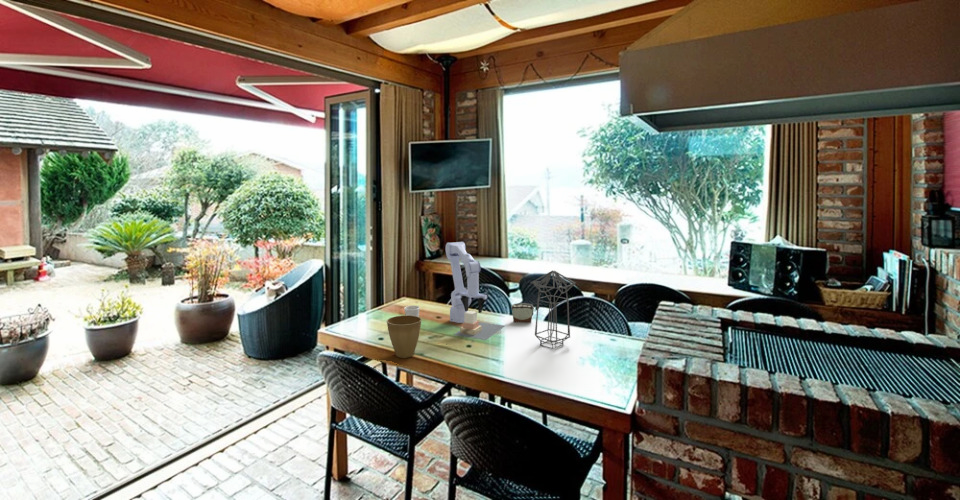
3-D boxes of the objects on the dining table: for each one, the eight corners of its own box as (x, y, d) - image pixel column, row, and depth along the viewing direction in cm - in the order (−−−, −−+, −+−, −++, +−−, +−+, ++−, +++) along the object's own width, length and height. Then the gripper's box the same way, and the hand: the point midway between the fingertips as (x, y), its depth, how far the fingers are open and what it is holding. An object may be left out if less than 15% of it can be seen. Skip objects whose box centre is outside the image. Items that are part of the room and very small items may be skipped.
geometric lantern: (549, 337, 215) (550, 266, 210) (576, 345, 203) (578, 270, 199) (527, 345, 205) (528, 270, 200) (554, 354, 193) (555, 275, 188)
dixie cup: (421, 323, 239) (421, 305, 238) (418, 328, 231) (417, 309, 229) (406, 323, 240) (406, 305, 238) (402, 328, 232) (402, 309, 230)
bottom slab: (460, 332, 220) (460, 328, 220) (467, 328, 228) (467, 323, 227) (474, 335, 217) (474, 330, 217) (481, 330, 224) (481, 325, 224)
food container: (533, 320, 242) (533, 303, 241) (533, 324, 236) (534, 305, 235) (511, 320, 244) (511, 302, 242) (510, 323, 238) (510, 305, 236)
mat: (452, 336, 218) (452, 334, 218) (474, 322, 239) (474, 321, 239) (485, 341, 210) (485, 339, 210) (505, 327, 231) (505, 325, 231)
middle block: (462, 327, 221) (462, 322, 220) (468, 324, 226) (468, 319, 226) (473, 329, 218) (473, 324, 218) (478, 325, 223) (478, 321, 223)
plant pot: (421, 360, 187) (420, 324, 185) (385, 362, 186) (384, 325, 184) (423, 348, 202) (422, 314, 200) (390, 349, 201) (389, 315, 199)
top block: (464, 322, 221) (464, 313, 220) (468, 320, 225) (468, 310, 224) (472, 323, 219) (472, 314, 218) (476, 321, 223) (476, 311, 222)
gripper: (456, 285, 222) (456, 311, 224) (482, 288, 215) (482, 315, 217) (463, 282, 228) (463, 308, 230) (488, 285, 221) (488, 311, 223)
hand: (473, 311), depth 224 cm, fingers open, 7 cm apart
